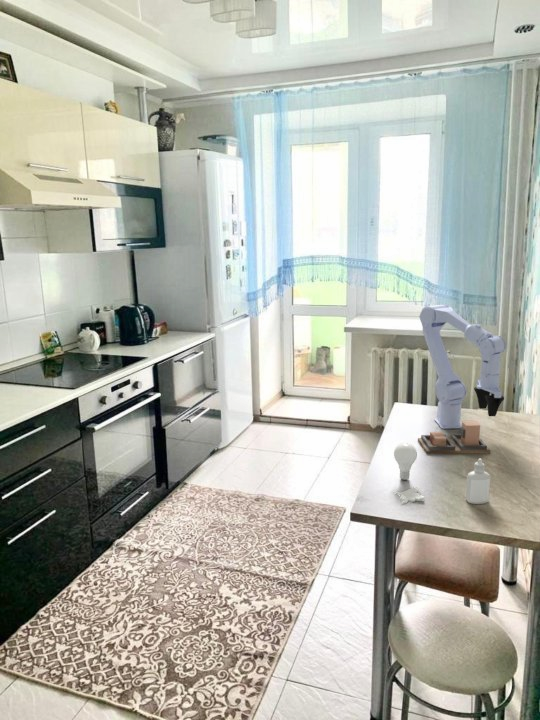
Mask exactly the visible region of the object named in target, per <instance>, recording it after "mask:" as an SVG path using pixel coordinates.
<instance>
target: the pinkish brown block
mask: <svg viewBox="0 0 540 720" xmlns="http://www.w3.org/2000/svg"><path fill="white" fill-rule="evenodd" d="M461 424H462V427H461V428H459V429H460V432H459V434H460V435H461V442H462V443H463V444H464V445H479V438H480V430H481V425H480V423H478V422H477V421H476V420H467V421H466V420H465V421H464V420H462V421H461Z"/></svg>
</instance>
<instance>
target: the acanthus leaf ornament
mask: <svg viewBox="0 0 540 720" xmlns="http://www.w3.org/2000/svg"><path fill="white" fill-rule="evenodd" d="M417 492H418V493H417ZM394 493H396V494H395V495H397V494H399V495H400V498H399V501H400V500H401V501H400V502H401V503H400V505H402V504H403V505H405V504H404V503H406V504H408V503H409V502H410V501H411V502H410V503H414V502H417V501H423V502H424V500H425V496H424V495H422V494H421V493H420V492H419V489H418V488H417V487H412V488H409V489H407V490H405V491H402V492H400V491H397V490H395V491H394ZM399 495H398V496H399ZM407 502H408V503H407Z"/></svg>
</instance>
